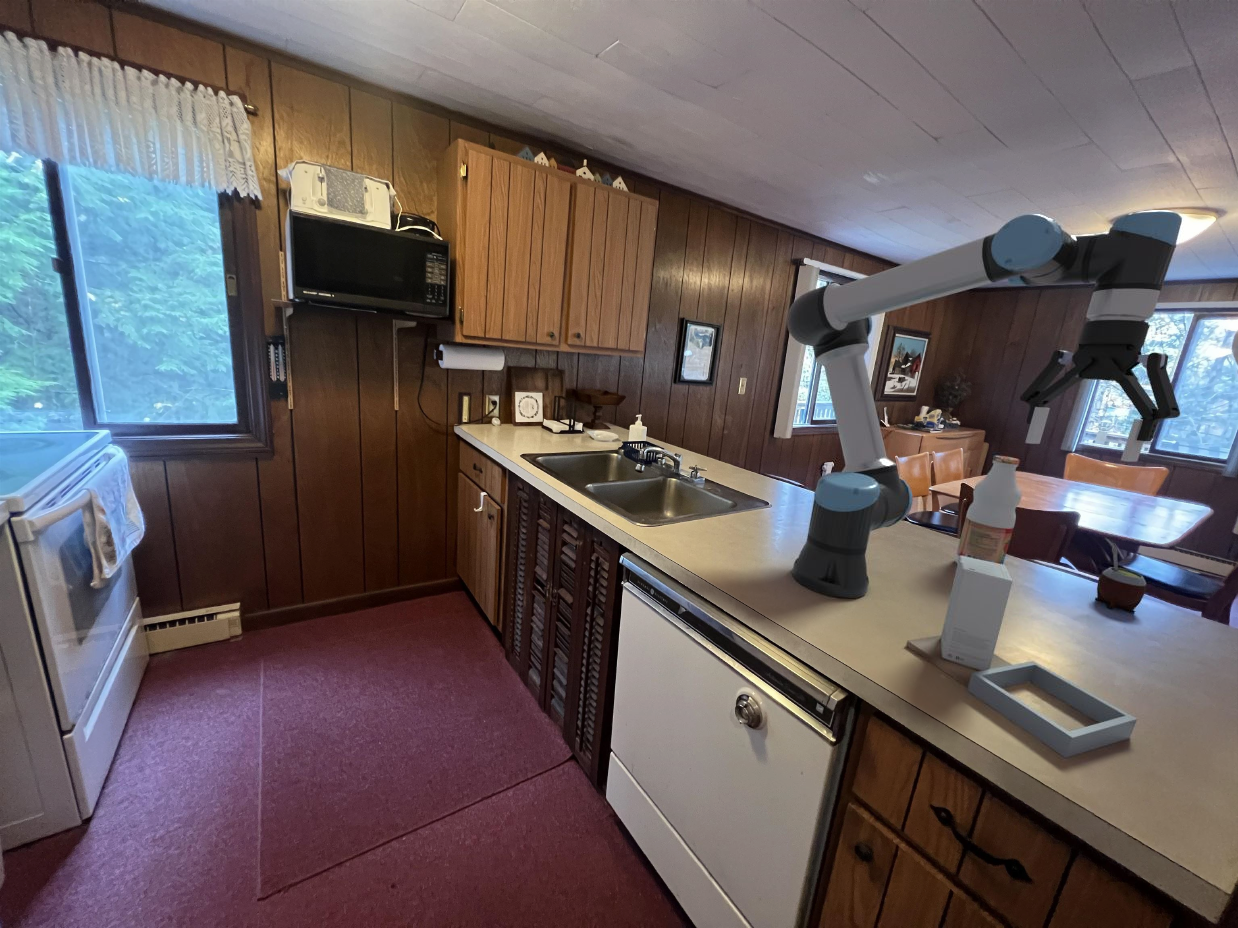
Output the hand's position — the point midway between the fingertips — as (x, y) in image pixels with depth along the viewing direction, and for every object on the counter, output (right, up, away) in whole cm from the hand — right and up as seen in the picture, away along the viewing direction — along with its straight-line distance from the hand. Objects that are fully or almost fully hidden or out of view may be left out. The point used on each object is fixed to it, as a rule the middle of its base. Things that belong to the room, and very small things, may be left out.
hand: (1076, 451), depth 82 cm
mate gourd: (+30, -33, +24) cm, 50 cm away
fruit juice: (+12, -28, +39) cm, 49 cm away
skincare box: (-21, -34, -2) cm, 39 cm away
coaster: (-21, -34, -2) cm, 40 cm away
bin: (-17, -37, -13) cm, 43 cm away
